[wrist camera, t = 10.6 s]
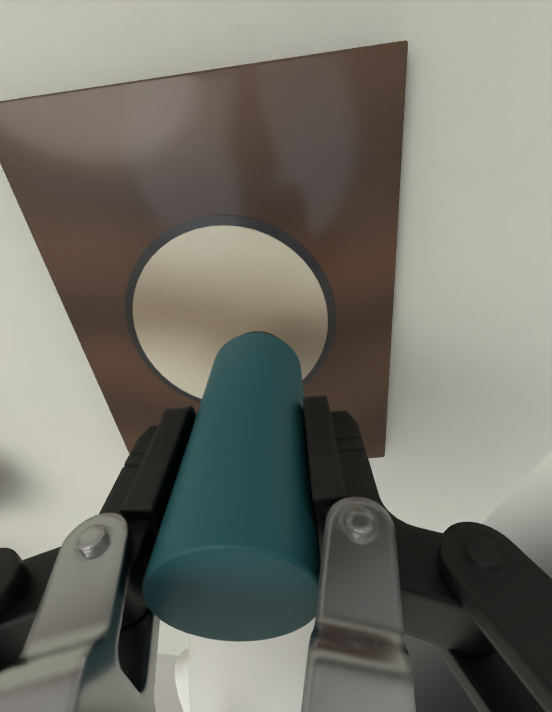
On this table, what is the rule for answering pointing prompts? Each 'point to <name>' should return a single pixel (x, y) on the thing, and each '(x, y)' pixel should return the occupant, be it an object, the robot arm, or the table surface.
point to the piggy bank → (244, 674)
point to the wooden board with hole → (222, 223)
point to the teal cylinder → (241, 505)
